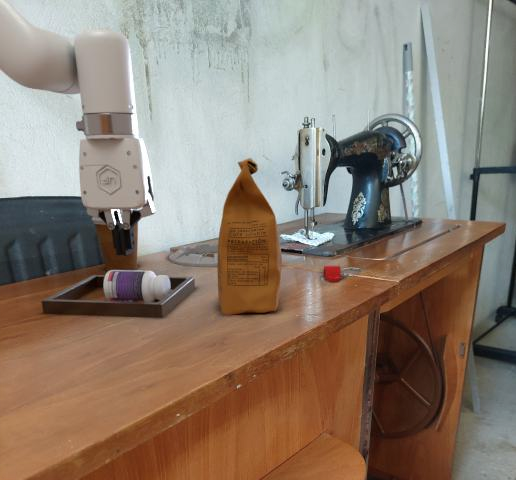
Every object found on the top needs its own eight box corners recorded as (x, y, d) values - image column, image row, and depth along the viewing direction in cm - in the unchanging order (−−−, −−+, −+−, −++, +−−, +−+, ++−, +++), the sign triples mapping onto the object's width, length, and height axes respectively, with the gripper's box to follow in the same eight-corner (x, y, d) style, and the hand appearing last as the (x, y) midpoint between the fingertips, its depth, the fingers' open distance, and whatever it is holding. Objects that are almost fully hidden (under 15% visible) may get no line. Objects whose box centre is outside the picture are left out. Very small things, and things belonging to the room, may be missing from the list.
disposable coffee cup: (88, 271, 108) (80, 212, 104) (124, 263, 115) (117, 207, 111) (119, 276, 103) (112, 214, 98) (154, 267, 110) (149, 209, 106)
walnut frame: (43, 316, 79) (41, 300, 78) (95, 288, 94) (93, 274, 94) (162, 320, 76) (161, 304, 75) (195, 290, 91) (194, 277, 90)
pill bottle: (104, 307, 83) (162, 308, 81) (100, 274, 81) (159, 275, 80) (118, 298, 88) (173, 299, 86) (114, 266, 86) (170, 267, 84)
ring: (203, 270, 106) (203, 261, 106) (153, 258, 120) (152, 249, 119) (271, 256, 119) (271, 248, 118) (219, 246, 132) (218, 238, 131)
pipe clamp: (322, 272, 103) (322, 261, 102) (336, 272, 103) (337, 261, 102) (326, 282, 95) (326, 270, 95) (341, 282, 95) (342, 270, 94)
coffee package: (282, 295, 87) (281, 157, 79) (281, 318, 76) (280, 158, 68) (223, 296, 88) (217, 158, 80) (214, 318, 76) (205, 160, 68)
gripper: (50, 129, 73) (70, 258, 80) (150, 126, 71) (162, 259, 77) (76, 130, 80) (92, 249, 87) (168, 128, 78) (178, 250, 84)
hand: (125, 253), depth 82 cm, fingers closed
